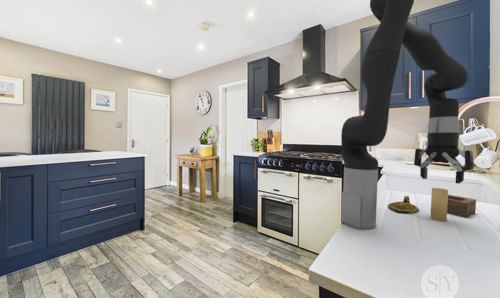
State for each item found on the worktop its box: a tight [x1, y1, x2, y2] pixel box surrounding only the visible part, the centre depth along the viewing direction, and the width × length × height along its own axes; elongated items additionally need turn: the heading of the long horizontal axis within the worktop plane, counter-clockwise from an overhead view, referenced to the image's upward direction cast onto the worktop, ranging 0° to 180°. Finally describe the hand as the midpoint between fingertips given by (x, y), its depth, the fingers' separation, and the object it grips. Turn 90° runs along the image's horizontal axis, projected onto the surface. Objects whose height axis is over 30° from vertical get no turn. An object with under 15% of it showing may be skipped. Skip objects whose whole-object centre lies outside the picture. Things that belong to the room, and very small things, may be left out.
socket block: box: [447, 194, 477, 219], centre depth 77 cm, size 10×10×5 cm
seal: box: [387, 195, 420, 215], centre depth 80 cm, size 9×5×15 cm
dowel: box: [430, 187, 449, 222], centre depth 69 cm, size 4×4×10 cm
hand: (440, 180), depth 69 cm, fingers open, 8 cm apart
